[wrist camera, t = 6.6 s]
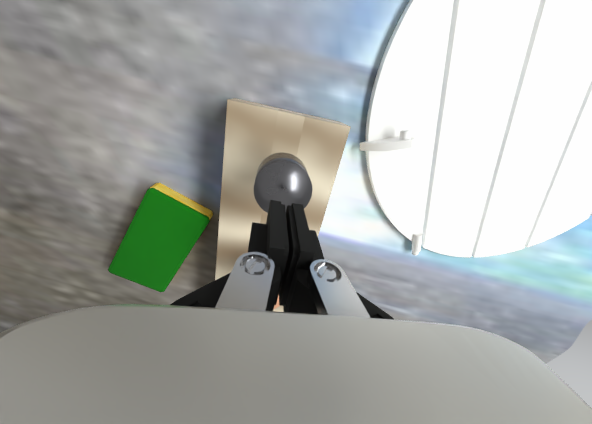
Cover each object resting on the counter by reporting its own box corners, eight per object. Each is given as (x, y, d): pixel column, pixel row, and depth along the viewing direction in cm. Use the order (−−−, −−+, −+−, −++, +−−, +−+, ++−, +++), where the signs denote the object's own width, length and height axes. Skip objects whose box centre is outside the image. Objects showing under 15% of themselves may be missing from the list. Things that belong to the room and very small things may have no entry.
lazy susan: (359, 272, 35) (367, 289, 32) (350, -121, 17) (366, -167, 14) (615, 229, 35) (647, 242, 32) (883, -212, 17) (1014, -277, 14)
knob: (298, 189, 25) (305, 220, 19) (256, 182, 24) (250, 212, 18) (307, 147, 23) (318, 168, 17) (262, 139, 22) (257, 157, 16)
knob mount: (284, 320, 39) (285, 343, 35) (217, 316, 37) (210, 339, 33) (339, 121, 25) (350, 126, 21) (234, 98, 23) (227, 99, 19)
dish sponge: (215, 210, 29) (210, 220, 27) (169, 280, 33) (162, 293, 31) (158, 179, 26) (148, 187, 24) (118, 259, 31) (106, 272, 29)
